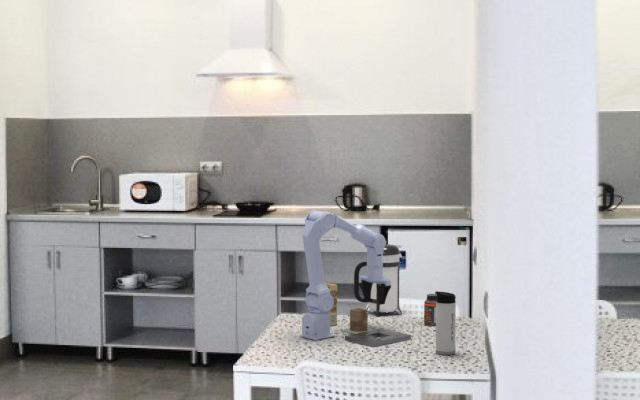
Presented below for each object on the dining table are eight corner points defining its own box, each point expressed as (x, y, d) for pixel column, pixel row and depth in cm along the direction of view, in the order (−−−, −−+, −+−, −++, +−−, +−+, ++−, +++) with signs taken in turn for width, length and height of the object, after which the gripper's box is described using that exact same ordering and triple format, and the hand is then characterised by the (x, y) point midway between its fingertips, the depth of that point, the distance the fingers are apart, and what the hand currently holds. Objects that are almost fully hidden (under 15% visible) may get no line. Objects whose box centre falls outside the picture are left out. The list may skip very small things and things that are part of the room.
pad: (358, 335, 320) (358, 334, 320) (341, 331, 326) (341, 330, 326) (376, 331, 325) (376, 330, 325) (359, 327, 332) (359, 326, 332)
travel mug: (433, 350, 297) (434, 290, 295) (454, 350, 296) (454, 290, 295) (435, 355, 290) (436, 293, 289) (456, 355, 290) (456, 293, 289)
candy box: (338, 324, 337) (338, 284, 336) (329, 326, 335) (329, 285, 334) (322, 321, 344) (322, 281, 343) (314, 322, 342) (313, 282, 341)
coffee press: (372, 308, 370) (373, 235, 368) (408, 312, 362) (409, 237, 360) (353, 315, 355) (353, 239, 353) (390, 319, 347) (390, 241, 345)
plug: (358, 332, 323) (358, 311, 322) (349, 330, 326) (349, 309, 326) (367, 330, 326) (367, 309, 325) (359, 328, 329) (359, 308, 329)
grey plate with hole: (373, 347, 302) (373, 342, 301) (344, 340, 312) (344, 335, 312) (410, 339, 313) (410, 334, 313) (382, 332, 324) (382, 328, 324)
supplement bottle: (420, 324, 338) (420, 294, 337) (430, 322, 342) (430, 292, 341) (433, 326, 334) (433, 296, 333) (443, 324, 338) (443, 294, 337)
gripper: (396, 267, 327) (396, 304, 328) (369, 262, 338) (368, 298, 339) (382, 268, 322) (382, 306, 323) (355, 264, 333) (355, 301, 334)
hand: (374, 302), depth 330 cm, fingers open, 7 cm apart
